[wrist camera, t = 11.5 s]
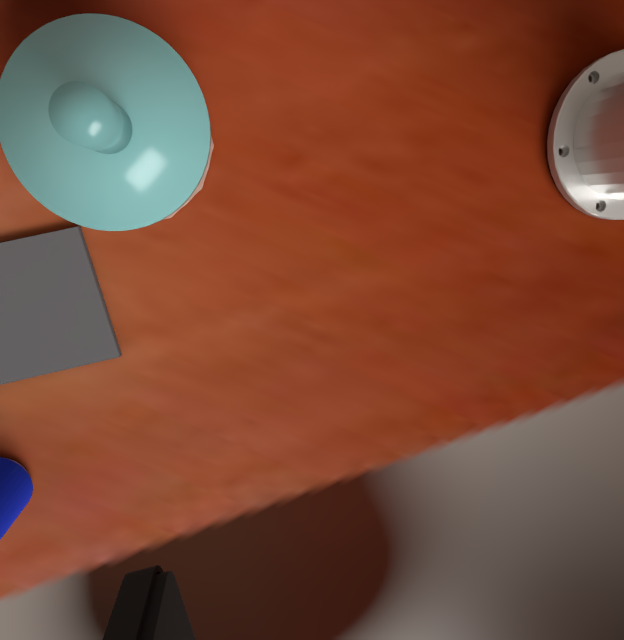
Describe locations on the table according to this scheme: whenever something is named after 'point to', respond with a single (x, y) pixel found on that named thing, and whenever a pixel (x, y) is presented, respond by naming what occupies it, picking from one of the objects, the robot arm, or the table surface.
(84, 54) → the lid
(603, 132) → the robot arm
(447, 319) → the table surface
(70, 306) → the mat
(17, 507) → the beverage can
